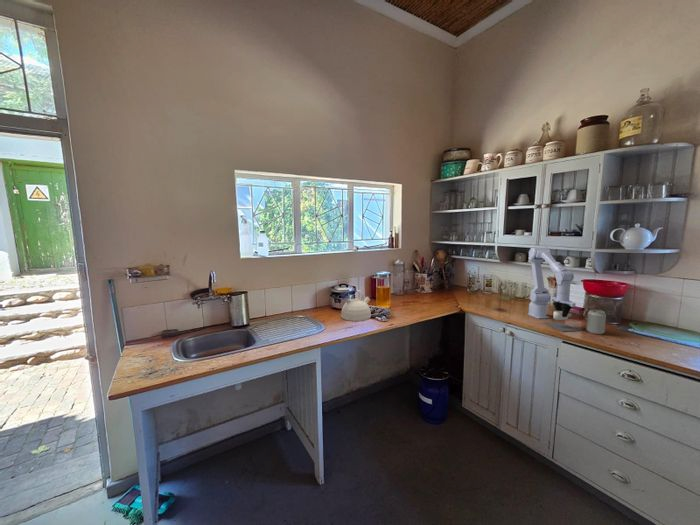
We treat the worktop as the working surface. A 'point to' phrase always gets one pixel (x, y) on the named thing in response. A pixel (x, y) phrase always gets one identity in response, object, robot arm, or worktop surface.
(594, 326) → the can
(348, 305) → the kettle
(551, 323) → the mat
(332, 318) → the worktop surface
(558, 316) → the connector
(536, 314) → the robot arm
